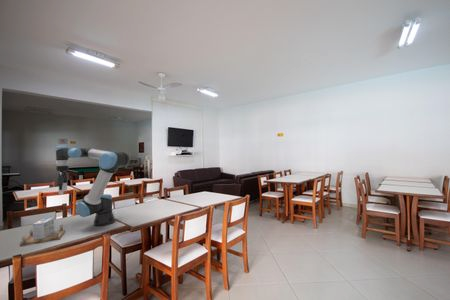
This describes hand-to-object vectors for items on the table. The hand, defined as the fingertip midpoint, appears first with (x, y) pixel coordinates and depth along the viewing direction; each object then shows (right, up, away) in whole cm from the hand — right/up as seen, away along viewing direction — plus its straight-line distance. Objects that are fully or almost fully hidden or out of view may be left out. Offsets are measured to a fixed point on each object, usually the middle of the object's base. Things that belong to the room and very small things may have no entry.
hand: (63, 192), depth 162 cm
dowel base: (+4, -27, -22) cm, 35 cm away
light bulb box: (+4, -26, -22) cm, 34 cm away
